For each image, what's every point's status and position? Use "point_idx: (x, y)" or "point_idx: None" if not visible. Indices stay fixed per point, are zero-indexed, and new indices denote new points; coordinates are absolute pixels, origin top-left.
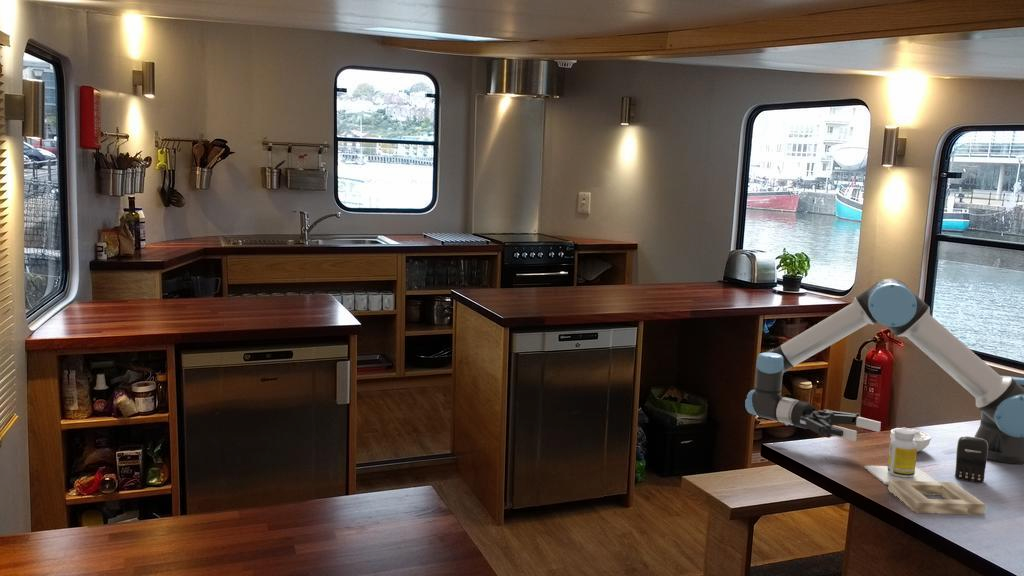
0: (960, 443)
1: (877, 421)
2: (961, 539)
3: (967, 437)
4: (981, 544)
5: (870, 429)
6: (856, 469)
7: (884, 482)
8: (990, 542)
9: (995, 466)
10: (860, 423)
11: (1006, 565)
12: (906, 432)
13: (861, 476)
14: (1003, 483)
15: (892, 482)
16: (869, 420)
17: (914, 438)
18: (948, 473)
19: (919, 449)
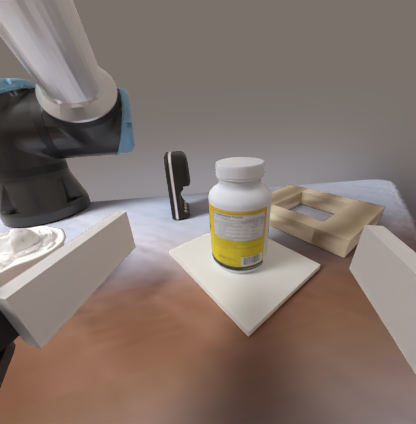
0: (186, 163)
1: (108, 217)
2: (381, 194)
3: (173, 154)
4: (368, 188)
5: (111, 269)
6: (288, 354)
7: (319, 266)
8: (353, 187)
9: (105, 208)
10: (57, 302)
11: (383, 180)
12: (245, 159)
13: (332, 321)
14: None
15: (350, 236)
16: (92, 238)
17: (50, 240)
18: (165, 226)
19: None
